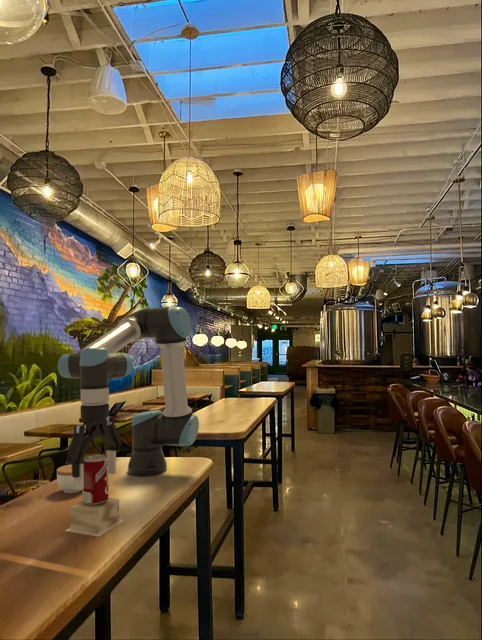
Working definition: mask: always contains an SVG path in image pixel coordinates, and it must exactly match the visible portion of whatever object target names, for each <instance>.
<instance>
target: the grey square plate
mask: <svg viewBox="0 0 482 640" xmlns="http://www.w3.org/2000/svg"><path fill="white" fill-rule="evenodd" d="M123 521H125V519H121V518H119V521H118V522H117V523H115V524H113V525H112V526H110V527H109V528H107V529H105V530H104V531H102V532H101V533H99V534H93V533H87V532H81V531H75V530H70V527H69V528H67V529H65V530H64V531H65V532H70V533H76V534H80V535H81V534H82V535H87V536H93V537H100V536H102V535H103V534H105V533H107V532H108V531H110V530H111V529H113V528H115V527H116V526H118V525H119V524H120V523H122V522H123Z"/></svg>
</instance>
